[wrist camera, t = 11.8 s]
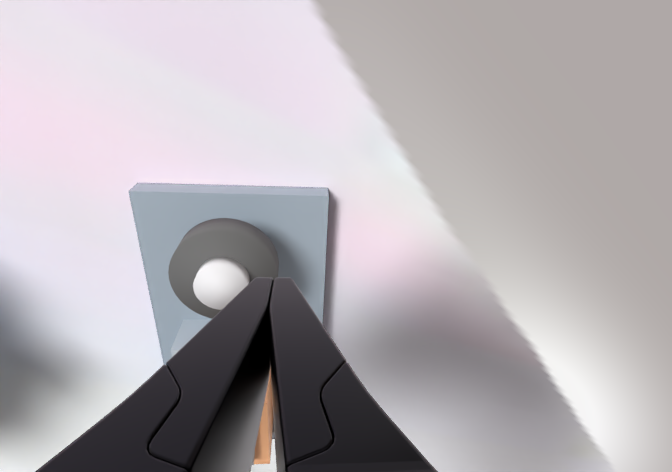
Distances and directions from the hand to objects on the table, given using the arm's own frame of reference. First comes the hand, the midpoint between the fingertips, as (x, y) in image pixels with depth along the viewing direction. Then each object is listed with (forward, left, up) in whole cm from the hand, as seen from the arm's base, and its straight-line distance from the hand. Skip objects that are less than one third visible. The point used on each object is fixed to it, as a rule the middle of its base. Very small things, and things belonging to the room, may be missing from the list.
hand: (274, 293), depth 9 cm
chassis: (-10, +3, -12) cm, 16 cm away
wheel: (-5, +3, -9) cm, 11 cm away
